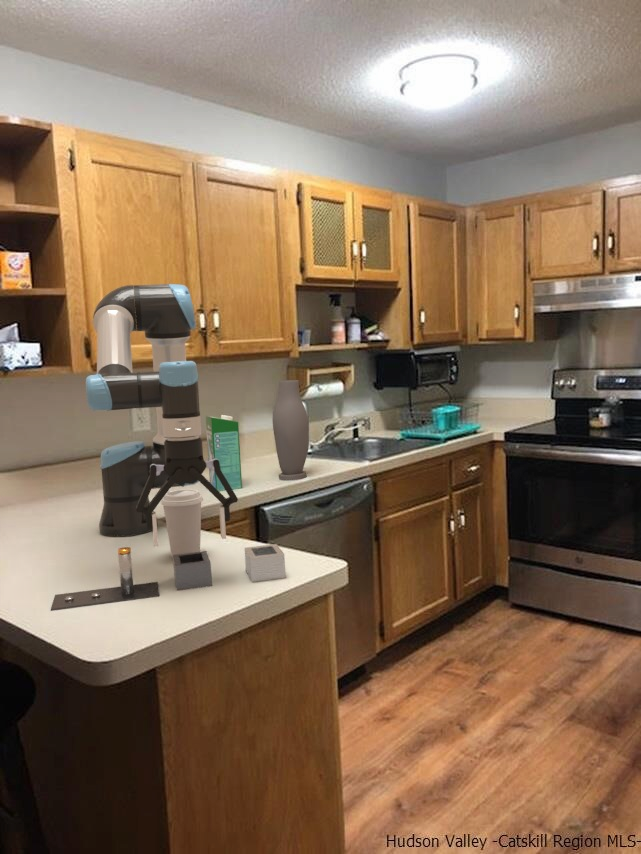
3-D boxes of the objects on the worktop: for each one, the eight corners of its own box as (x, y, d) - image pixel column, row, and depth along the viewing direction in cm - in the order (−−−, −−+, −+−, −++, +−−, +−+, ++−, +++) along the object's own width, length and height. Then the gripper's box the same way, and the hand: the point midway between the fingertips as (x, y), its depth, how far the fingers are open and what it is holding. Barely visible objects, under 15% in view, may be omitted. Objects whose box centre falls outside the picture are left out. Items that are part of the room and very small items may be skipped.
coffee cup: (188, 547, 169) (184, 486, 168) (215, 553, 163) (211, 490, 161) (156, 558, 162) (151, 494, 160) (183, 564, 156) (178, 499, 154)
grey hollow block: (174, 577, 147) (172, 554, 147) (207, 573, 149) (206, 550, 149) (176, 590, 140) (175, 566, 139) (212, 585, 141) (210, 561, 141)
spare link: (245, 570, 150) (244, 547, 150) (277, 566, 152) (276, 544, 151) (252, 582, 143) (250, 558, 142) (285, 577, 144) (284, 554, 144)
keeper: (55, 596, 140) (51, 551, 138) (157, 583, 145) (154, 540, 143) (50, 610, 132) (46, 563, 131) (159, 596, 137) (155, 551, 136)
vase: (297, 481, 243) (292, 381, 240) (266, 479, 250) (262, 381, 246) (317, 475, 254) (313, 379, 251) (287, 473, 261) (283, 379, 258)
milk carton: (242, 488, 237) (237, 415, 234) (216, 491, 234) (211, 417, 231) (235, 483, 245) (231, 412, 242) (210, 486, 242) (205, 415, 239)
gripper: (118, 445, 134) (126, 553, 136) (247, 435, 140) (253, 538, 143) (119, 440, 141) (127, 543, 143) (241, 431, 148) (247, 529, 150)
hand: (190, 541), depth 143 cm, fingers open, 13 cm apart
